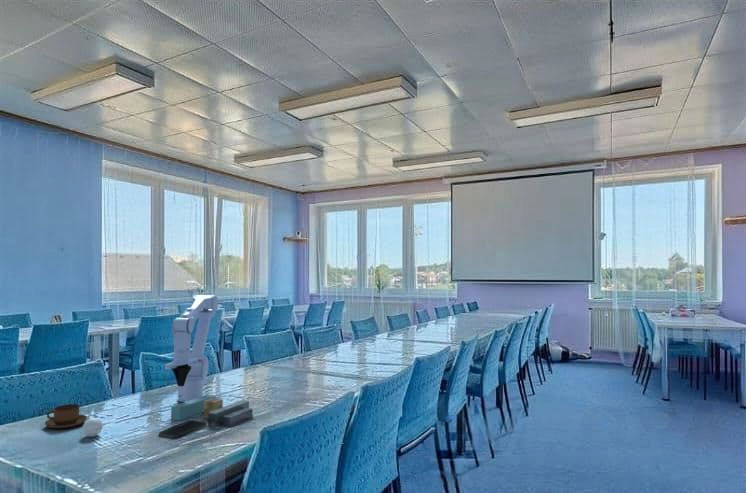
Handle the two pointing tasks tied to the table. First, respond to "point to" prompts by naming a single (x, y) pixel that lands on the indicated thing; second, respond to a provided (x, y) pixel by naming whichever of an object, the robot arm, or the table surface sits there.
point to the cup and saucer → (65, 417)
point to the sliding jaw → (189, 408)
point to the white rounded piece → (92, 427)
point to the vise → (230, 414)
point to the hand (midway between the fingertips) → (180, 385)
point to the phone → (182, 429)
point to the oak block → (212, 405)
